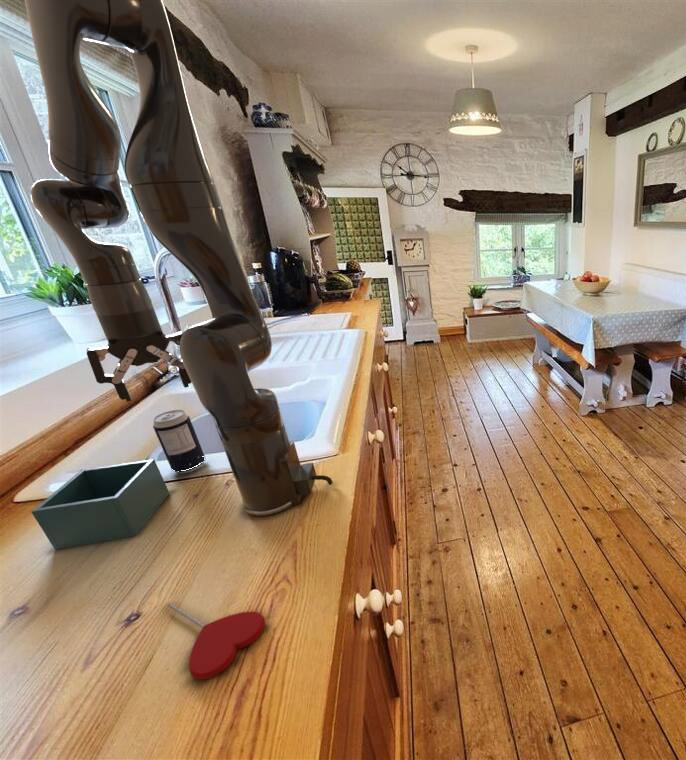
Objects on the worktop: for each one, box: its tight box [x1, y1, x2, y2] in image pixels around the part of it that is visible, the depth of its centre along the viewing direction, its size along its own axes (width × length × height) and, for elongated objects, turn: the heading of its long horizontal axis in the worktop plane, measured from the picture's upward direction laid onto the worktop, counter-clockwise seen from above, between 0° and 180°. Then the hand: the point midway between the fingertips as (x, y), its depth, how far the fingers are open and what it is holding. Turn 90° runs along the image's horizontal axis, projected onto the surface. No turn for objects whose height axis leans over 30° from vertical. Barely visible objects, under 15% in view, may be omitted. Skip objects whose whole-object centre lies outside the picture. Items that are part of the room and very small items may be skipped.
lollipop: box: [166, 602, 266, 680], centre depth 51 cm, size 8×1×15 cm
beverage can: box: [152, 409, 206, 474], centre depth 81 cm, size 6×6×12 cm
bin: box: [30, 458, 170, 551], centre depth 69 cm, size 11×11×8 cm
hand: (158, 393), depth 77 cm, fingers open, 8 cm apart
